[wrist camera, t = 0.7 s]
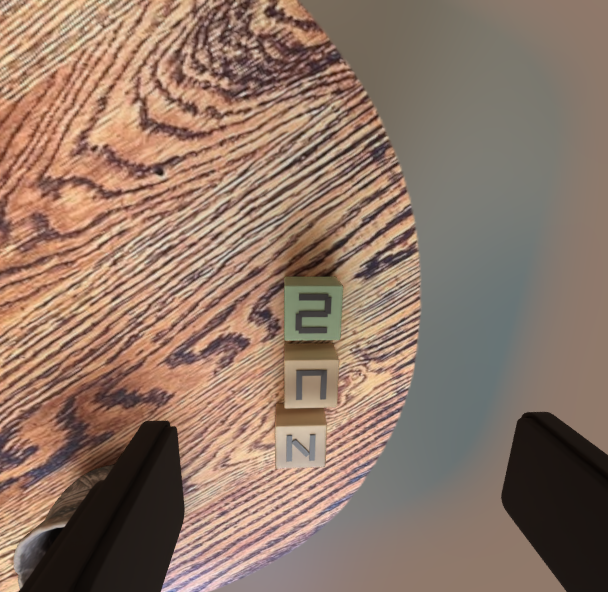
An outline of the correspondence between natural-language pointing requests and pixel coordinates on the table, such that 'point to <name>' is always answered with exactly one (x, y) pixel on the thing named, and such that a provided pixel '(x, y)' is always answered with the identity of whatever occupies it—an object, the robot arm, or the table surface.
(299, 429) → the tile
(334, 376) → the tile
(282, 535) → the table surface
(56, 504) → the mug
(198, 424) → the table surface
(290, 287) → the green number block
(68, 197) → the table surface
